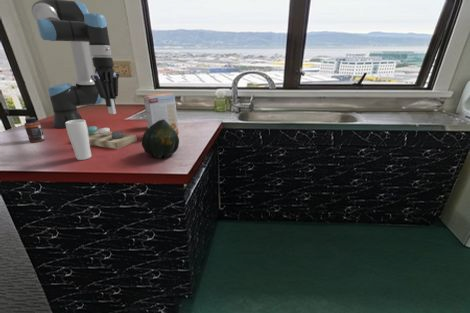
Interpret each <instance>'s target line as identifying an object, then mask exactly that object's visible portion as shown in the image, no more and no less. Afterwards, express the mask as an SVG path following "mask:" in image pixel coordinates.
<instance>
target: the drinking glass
mask: <svg viewBox="0 0 470 313" xmlns="http://www.w3.org/2000/svg"><path fill="white" fill-rule="evenodd" d="M82 119H83V118H82ZM82 119H79V120H70V121H67V122H65V125H66V128H65V129H66V132H67V136H68V138H69V141H70V143H71V146H72V149H73V153H74V154H75V158H76V160H78V161H85V160H88V159H90V158H92V151H91V145H90V143H89V135H88V129H87V127H88V125H87V122H86V121H87V120H85V119H83V120H82Z"/></svg>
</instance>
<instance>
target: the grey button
mask: <svg viewBox="0 0 470 313" xmlns="http://www.w3.org/2000/svg"><path fill="white" fill-rule="evenodd" d="M111 132H112V133H111V134H112V138H122V137H124V134H125V133H124V131H123V130H122V131H121V130H118V131H111Z"/></svg>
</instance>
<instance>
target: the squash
mask: <svg viewBox="0 0 470 313" xmlns="http://www.w3.org/2000/svg"><path fill="white" fill-rule="evenodd" d="M178 135H179V134H177V133H176V131H175V130H174V129H173V128H172V127H171V126H170V125H169V124H168V123H167V122H166V121H165V120H164V119H163V120H159V121H157V122H156V123H154V124H153V125H152V126H150V127H149V128H148V127H147V129H146V130H145V131H144V133H143V134H142V137H141V147H142V148H143V150H144V152H145V153H147V154H148V155H151V156H154V157H155V158H156V159H161V158H163V157H165V158H166V157H169V156H171V154H174V153H175V152H177V151H178V149H179V145H180V139H179V136H178Z"/></svg>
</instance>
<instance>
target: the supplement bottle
mask: <svg viewBox="0 0 470 313" xmlns="http://www.w3.org/2000/svg"><path fill="white" fill-rule="evenodd" d="M24 120H25V123H23V126H24V128H25V131H26V134H27V138H28V141H29V142H30V143H40V142H43V141H45V140H46V139H45V135H44V132H43V129H42V125H41V122H39V121H37V118H36V117H34V116H32V117H31V116H30V117H25V119H24Z"/></svg>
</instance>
